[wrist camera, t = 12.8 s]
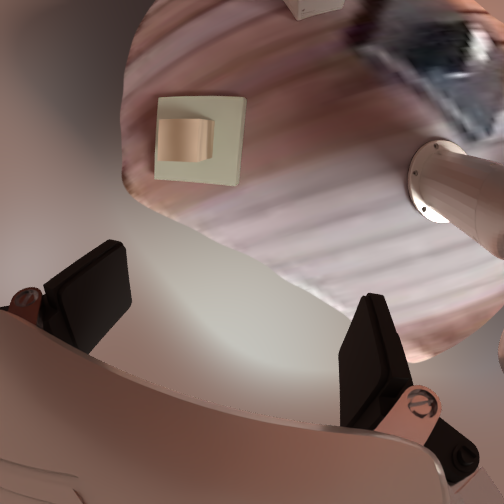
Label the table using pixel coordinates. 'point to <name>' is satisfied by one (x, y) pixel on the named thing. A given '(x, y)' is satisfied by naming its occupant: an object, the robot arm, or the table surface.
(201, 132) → the birch block
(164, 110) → the base
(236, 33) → the table surface
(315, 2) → the supplement box
